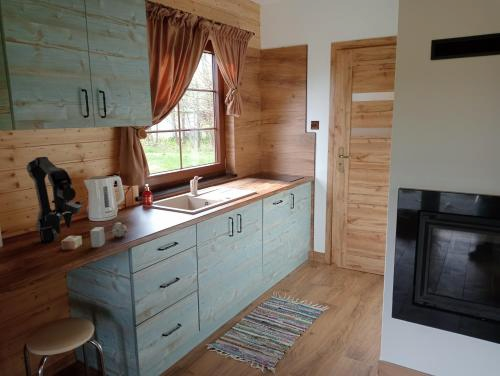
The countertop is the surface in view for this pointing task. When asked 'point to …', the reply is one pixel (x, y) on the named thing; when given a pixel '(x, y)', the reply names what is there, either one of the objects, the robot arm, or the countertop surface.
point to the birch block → (71, 242)
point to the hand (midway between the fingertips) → (64, 230)
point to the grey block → (97, 236)
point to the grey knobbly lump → (119, 229)
